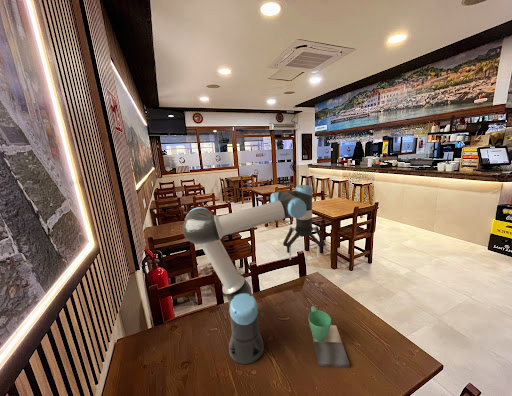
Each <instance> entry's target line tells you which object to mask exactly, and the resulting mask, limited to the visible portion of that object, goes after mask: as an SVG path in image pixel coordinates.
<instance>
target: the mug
mask: <svg viewBox="0 0 512 396" xmlns="http://www.w3.org/2000/svg"><path fill="white" fill-rule="evenodd" d="M309 311H310V312H309V314H308V324H309V328H310V331H311V334H313V336H314V338H315V340H317V341H320V342H322V341H324V340H325V338H326V336H327V334H328V332H329V329H330V326H331V325H332V317H331V316H330V315H329V314H328V313H327V312H325V311H322V310H318V309H317V308H316V306H313V305H312V306H311V307H310V308H309ZM313 336H312V337H313Z"/></svg>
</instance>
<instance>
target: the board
mask: <svg viewBox="0 0 512 396" xmlns="http://www.w3.org/2000/svg"><path fill="white" fill-rule="evenodd" d="M311 334H312V333H311ZM311 336H312V340H313V345H314V350H315V354H316V360H317V366H318V367H327V368H328V367H330V368H351V367H350V365H351V364H350V361H349V359H348V356H347V355H348V354H347V353H346V350H345V347H344V344H343V341H342V339H341V335H340V332H339V330H338V327H337V325H334V324H333V325H332V324H331V326H330V329H329V332H328V334H327V336H326V338H325V340H324V341H322V342H320V341H317V340H315V338H314V336H313V334H312V335H311Z"/></svg>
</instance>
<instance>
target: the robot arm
mask: <svg viewBox="0 0 512 396" xmlns="http://www.w3.org/2000/svg"><path fill="white" fill-rule="evenodd" d="M291 217H292V218H295V227H292V226H289V230H288V232H287V235H286V237H285V239H284V240H283V247H286V253H288V254H289V256H288V257H289V261H290V260H292V244H293V243H295V241H296V240H297V239H299V237H302V238H303V237H305V238H306V237H310V238H311V239H312V241H314V242H315V243H316V244H317V245H316V259H317V260H319V261H320V253H321V254H322V252H323V251H322V250H323V249H322V248H323V246H326V245H327V244H326V242H325V240H324V239H323V236H322V235H321V232H320V228H319V226H317V225H316V226H315V227H314V226H313V187H312V186H311V185H308V184H302V185H301V184H299V185H296V187H295V189H294V190H288V191H285V190H284V191H275V192H272V193H271V194H270V202H268V203H265V204H261V205H256V206H254V207H249V208H246V209H242V210H241V209H240V210H239V211H235V212H230V213H227V214H223V215H220V216H218V215H216V214H213V213H212V212H211V211H210V210H209V209H208V208H205V207H200V206H199V207H195V208H192V209H191V210H190V211H189V212H188V213H187V214H186V216H185V219H184V222H183V225H182V233H183V236H184V238H185V239H186V240H187V241H188V242H190V243H192V244H195V245H197V246H201V247H200V248H202V250H203V252H204V254H205V256H206V257H207V259H208V261H209V262H210V265H211V266H212V268H213V270H214V272H215V273H216V275H217V277H218V279H219V280H220V281H221V284H222V292H223V294H224V296H225V297H226V300H227V301H228V307H229V316H230V326H231V336H230V339H229V345H228V350H229V351H228V353H229V356H230V357H231V359H232V360H233V361H234V362H236V363H238V364H240V365H249V364H252V363H256V361H258V360H259V358H261V357H262V355H263V352H264V341H263V338H262V335H261V333H260V331H259V330H260V329H259V307H258V306H259V305H258V302H257V300H256V298H255V297H254V296H253V293H252V292H253V291H252V288H251V285H250V283H249V282H248V281H247V280H246V279H245V277H244V276H243V275H240V274H239V273H238V270H237V269H236V267H235V265H234V263H233V261H232V259H231V258H230V256H229V253H228V252H227V250H226V248H225V246H224V245H223V243H222V238H223V237H224V236H227V235H231V234H235V233H238V232H241V231H244V230H247V229H252V228H255V227H259V226H262V225H266V224H270V223H273V222H276V221H280V220H282V219H287V218H291ZM313 231H314V232H316V234H317V236H318V237H319V240H318V239H317V237H316V236H315V235H314V234H313V233H312V232H313ZM294 232H295V234H294V235H293V234H292V233H294ZM292 235H293V236H292ZM291 236H292V237H291ZM320 241H321V242H320Z"/></svg>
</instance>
